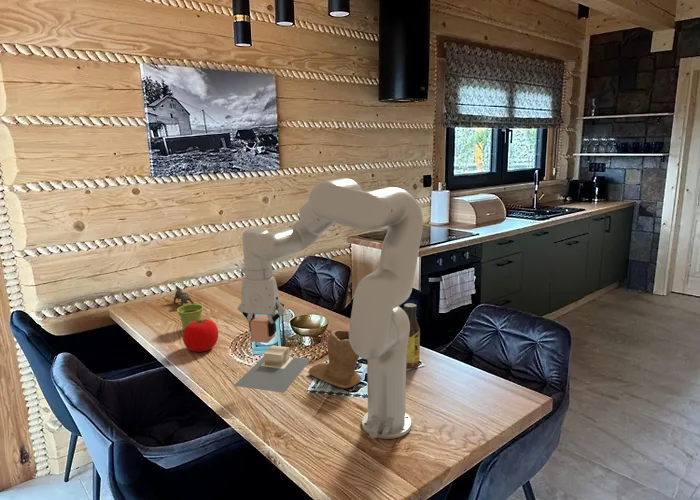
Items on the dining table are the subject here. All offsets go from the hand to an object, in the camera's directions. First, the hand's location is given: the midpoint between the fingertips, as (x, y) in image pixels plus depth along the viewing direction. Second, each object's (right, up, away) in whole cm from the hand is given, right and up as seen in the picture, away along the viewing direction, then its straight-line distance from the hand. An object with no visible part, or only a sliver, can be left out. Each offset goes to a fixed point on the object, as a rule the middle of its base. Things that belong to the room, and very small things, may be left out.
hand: (263, 333), depth 143 cm
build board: (+2, -14, +10) cm, 18 cm away
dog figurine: (-48, 0, +74) cm, 88 cm away
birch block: (+2, -12, +16) cm, 20 cm away
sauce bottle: (+44, -13, +16) cm, 49 cm away
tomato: (-26, -10, +30) cm, 41 cm away
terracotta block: (0, -2, 0) cm, 2 cm away
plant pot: (-35, -7, +47) cm, 59 cm away
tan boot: (+22, -15, +7) cm, 27 cm away
